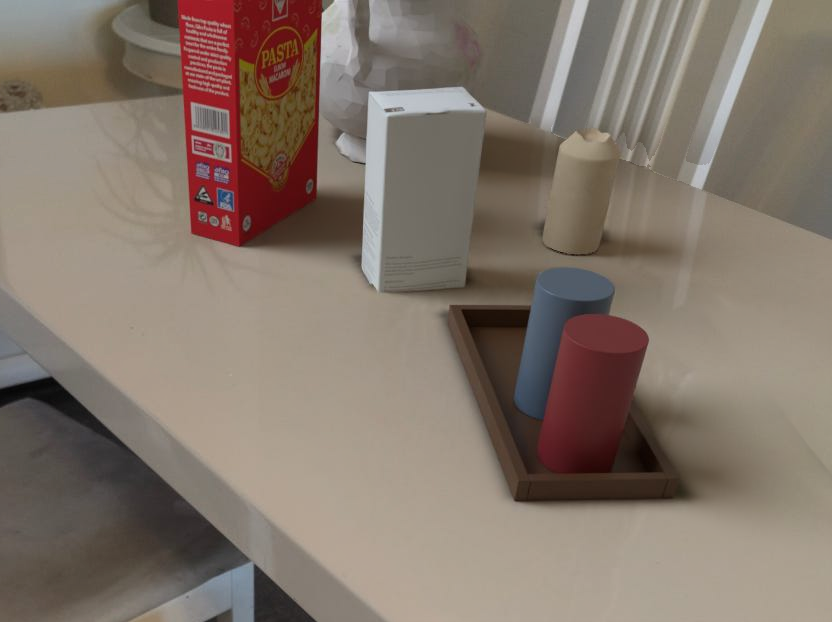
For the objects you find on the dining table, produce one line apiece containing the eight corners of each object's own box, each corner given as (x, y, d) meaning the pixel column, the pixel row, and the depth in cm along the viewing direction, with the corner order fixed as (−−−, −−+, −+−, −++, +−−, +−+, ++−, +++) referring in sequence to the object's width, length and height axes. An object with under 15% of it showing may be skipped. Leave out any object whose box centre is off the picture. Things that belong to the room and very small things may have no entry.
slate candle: (574, 385, 73) (602, 267, 67) (593, 422, 69) (625, 301, 63) (506, 385, 72) (528, 266, 66) (522, 422, 69) (547, 300, 62)
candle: (538, 250, 92) (560, 137, 86) (544, 229, 96) (565, 119, 89) (597, 259, 92) (623, 145, 85) (600, 237, 96) (625, 127, 89)
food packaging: (239, 246, 89) (231, -92, 72) (191, 233, 91) (171, -101, 74) (316, 198, 99) (325, -110, 82) (271, 187, 101) (271, -118, 83)
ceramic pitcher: (453, 206, 102) (512, -83, 85) (272, 170, 103) (295, -125, 86) (467, 143, 118) (520, -112, 101) (310, 112, 118) (336, -148, 101)
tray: (571, 329, 81) (576, 305, 80) (671, 505, 63) (680, 478, 62) (446, 329, 80) (449, 304, 78) (512, 508, 62) (518, 481, 61)
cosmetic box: (444, 266, 89) (467, 84, 78) (466, 295, 85) (493, 107, 74) (355, 270, 87) (366, 85, 77) (373, 300, 83) (387, 109, 72)
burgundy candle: (600, 436, 68) (633, 313, 62) (623, 479, 64) (660, 353, 58) (528, 436, 67) (554, 313, 61) (546, 480, 64) (576, 353, 57)
